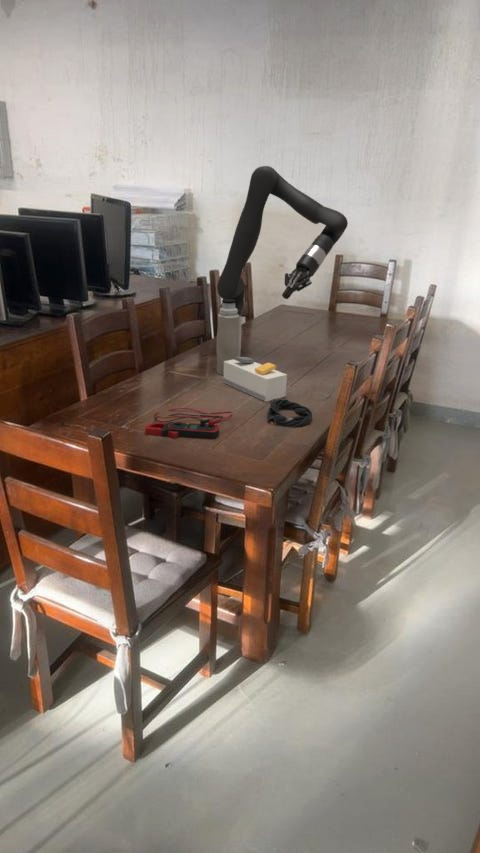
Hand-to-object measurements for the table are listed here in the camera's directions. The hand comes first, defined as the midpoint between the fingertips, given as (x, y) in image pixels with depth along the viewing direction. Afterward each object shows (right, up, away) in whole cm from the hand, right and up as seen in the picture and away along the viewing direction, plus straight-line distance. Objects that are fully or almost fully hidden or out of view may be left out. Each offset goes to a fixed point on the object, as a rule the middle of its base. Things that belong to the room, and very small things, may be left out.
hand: (284, 297), depth 214 cm
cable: (0, -44, -25) cm, 51 cm away
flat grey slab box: (-15, -23, -2) cm, 28 cm away
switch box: (-11, -33, -3) cm, 36 cm away
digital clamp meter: (-31, -47, -33) cm, 65 cm away
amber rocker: (-7, -27, -11) cm, 30 cm away
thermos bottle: (-21, -26, +14) cm, 36 cm away
